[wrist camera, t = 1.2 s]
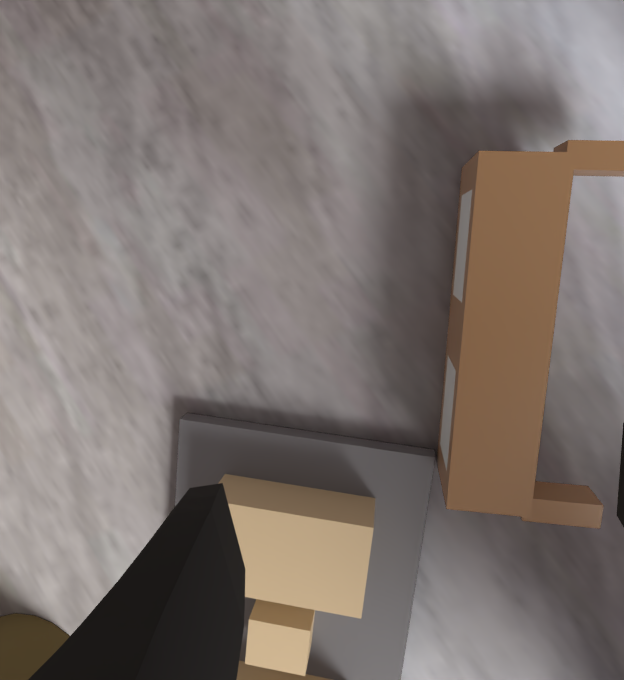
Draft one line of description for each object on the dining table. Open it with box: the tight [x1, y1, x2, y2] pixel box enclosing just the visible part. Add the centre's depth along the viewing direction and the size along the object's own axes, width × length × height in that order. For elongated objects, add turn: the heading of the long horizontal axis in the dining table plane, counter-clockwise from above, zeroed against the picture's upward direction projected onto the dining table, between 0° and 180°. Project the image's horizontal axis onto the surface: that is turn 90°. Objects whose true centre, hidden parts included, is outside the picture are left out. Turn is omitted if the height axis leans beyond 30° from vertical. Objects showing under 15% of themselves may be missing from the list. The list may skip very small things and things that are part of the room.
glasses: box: [437, 140, 624, 529], centre depth 18 cm, size 5×12×4 cm, turn 178°
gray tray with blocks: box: [175, 413, 435, 680], centre depth 22 cm, size 10×16×3 cm, turn 175°
